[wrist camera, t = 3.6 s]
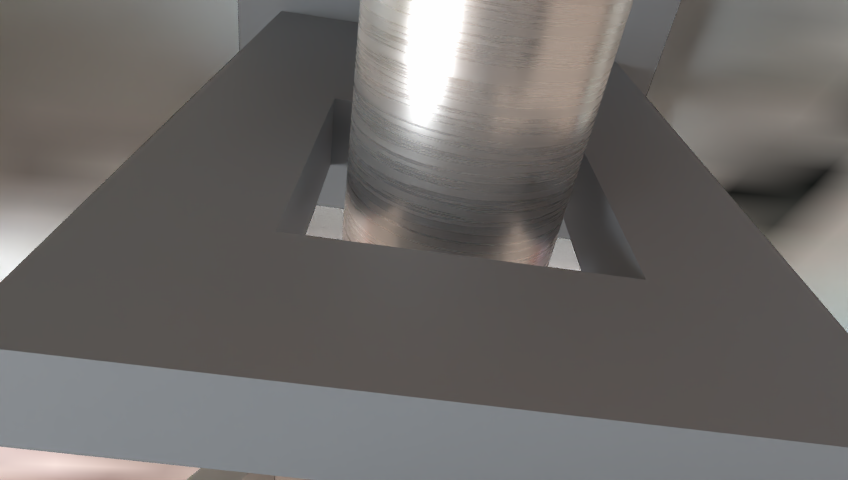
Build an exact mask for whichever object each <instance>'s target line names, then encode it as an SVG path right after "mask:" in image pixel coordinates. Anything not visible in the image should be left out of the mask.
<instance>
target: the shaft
mask: <svg viewBox="0 0 848 480" xmlns="http://www.w3.org/2000/svg"><path fill="white" fill-rule="evenodd" d="M632 3H633V0H360V8H359V22H358V35H357V48H356V61H355V74H354V87H353V101H352V114H351V127H350V140H349V153H348V166H347V180H346V193H345V206H344V219H343V232H342V240H345V241H353V242H360V243H368V244H376V245H383V246H391V247H399V248H406V249H414V250H422V251H429V252H437V253H445V254H452V255H460V256H468V257H475V258H483V259H491V260H498V261H506V262H514V263H521V264H529V265H537V266H544V267H548V264H549V261H550V258H551V255H552V252H553V248H554V245H555V242H556V239H557V236H558V233H559V230H560V227H561V224H562V221H563V217H564V214H565V211H566V208H567V205H568V202H569V199H570V196H571V193H572V190H573V186H574V183H575V180H576V177H577V174H578V171H579V168H580V165H581V162H582V159H583V155H584V152H585V149H586V146H587V143H588V140H589V137H590V134H591V131H592V127H593V124H594V121H595V118H596V115H597V112H598V109H599V106H600V103H601V100H602V96H603V93H604V90H605V87H606V84H607V81H608V78H609V75H610V72H611V69H612V65H613V62H614V59H615V56H616V53H617V50H618V47H619V44H620V41H621V38H622V34H623V31H624V28H625V25H626V22H627V19H628V16H629V13H630V10H631V7H632Z"/></svg>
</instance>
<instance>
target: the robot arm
mask: <svg viewBox="0 0 848 480" xmlns="http://www.w3.org/2000/svg"><path fill="white" fill-rule="evenodd" d="M187 480H311V479H301V478H292V477H282V476H273V475H264V474H254V473H245V472H236V471H226V470H217V469H207V468H200V469H199V470H198V471H196V472H195V473H194V474H193V475H192V476H190V477H189V478H188V479H187Z"/></svg>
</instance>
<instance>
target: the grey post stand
mask: <svg viewBox="0 0 848 480" xmlns="http://www.w3.org/2000/svg"><path fill="white" fill-rule="evenodd" d="M680 2H681V0H633V3H632V7H631V10H630V13H629V16H628V19H627V22H626V25H625V28H624V31H623V34H622V38H621V41H620V44H619V47H618V50H617V53H616V56H615V59H614V62H613V65H612V69H611V72H610V75H609V78H608V81H607V84H606V87H605V90H604V93H603V96H602V100H601V103H600V106H599V109H598V112H597V115H596V118H595V121H594V124H593V127H592V131H591V134H590V137H589V140H588V143H587V146H586V149H585V152H584V155H583V159H582V162H581V165H580V168H579V171H578V174H577V177H576V180H575V183H574V186H573V190H572V193H571V196H570V199H569V202H568V205H567V208H566V211H565V214H564V217H563V221H562V224H561V227H560V230H559V233H558V236H557V237H558V238H566V239H571V242H572V245H573V248H574V251H575V254H576V257H577V259H578V262H579V265H580V268H581V271H575V270H567V269H560V268H552V267H544V266H537V265H529V264H521V263H514V262H506V261H498V260H491V259H483V258H475V257H468V256H460V255H452V254H445V253H437V252H429V251H422V250H414V249H406V248H399V247H391V246H383V245H376V244H368V243H360V242H353V241H345V240H338V239H330V238H322V237H315V236H307V235H306V232H307V229H308V226H309V223H310V221H311V218H312V215H313V212H314V209H315V207H316V205H319V206H326V207H334V208H341V209H344V206H345V193H346V180H347V166H348V153H349V140H350V127H351V114H352V101H353V87H354V74H355V61H356V48H357V35H358V22H359V8H360V0H238V22H239V52H238V53H237V54H236V55H235V56H234V57H233V58H232V59H231V60H230V61H229V62H228V63H227V64H226V65H225V66H224V67H223V68H222V69H221V70H220V71H219V72H218V73H217V74H216V75H215V76H214V77H213V78H211V79H210V80H209V81H208V82H207V83H206V84H205V85H204V86H203V87H202V88H201V89H200V90H199V91H198V92H197V93H196V94H195V95H194V96H193V97H192V98H191V99H190V100H189V101H188V102H187V103H186V104H185V105H184V106H183V107H181V108H180V109H179V110H178V111H177V112H176V113H175V114H174V115H173V116H172V117H171V118H170V119H169V120H168V121H167V122H166V123H165V124H164V125H163V126H162V127H161V128H160V129H159V130H158V131H157V132H156V133H155V134H154V135H153V136H151V137H150V138H149V139H148V140H147V141H146V142H145V143H144V144H143V145H142V146H141V147H140V148H139V149H138V150H137V151H136V152H135V153H134V154H133V155H132V156H131V157H130V158H129V159H128V160H127V161H126V162H125V163H124V164H122V165H121V166H120V167H119V168H118V169H117V170H116V171H115V172H114V173H113V174H112V175H111V176H110V177H109V178H108V179H107V180H106V181H105V182H104V183H103V184H102V185H101V186H100V187H99V188H98V189H97V190H96V191H95V192H94V193H92V194H91V195H90V196H89V197H88V198H87V199H86V200H85V201H84V202H83V203H82V204H81V205H80V206H79V207H78V208H77V209H76V210H75V211H74V212H73V213H72V214H71V215H70V216H69V217H68V218H67V219H66V220H65V221H63V222H62V223H61V224H60V225H59V226H58V227H57V228H56V229H55V230H54V231H53V232H52V233H51V234H50V235H49V236H48V237H47V238H46V239H45V240H44V241H43V242H42V243H41V244H40V245H39V246H38V247H37V248H36V249H35V250H33V251H32V252H31V253H30V254H29V255H28V256H27V257H26V258H25V259H24V260H23V261H22V262H21V263H20V264H19V265H18V266H17V267H16V268H15V269H14V270H13V271H12V272H11V273H10V274H9V275H8V276H7V277H6V278H5V279H3V280H2V281H1V282H0V446H1V447H10V448H20V449H29V450H38V451H48V452H57V453H67V454H76V455H85V456H95V457H104V458H114V459H123V460H132V461H142V462H151V463H160V464H170V465H179V466H189V467H198V468H207V469H217V470H226V471H236V472H245V473H254V474H264V475H273V476H282V477H292V478H301V479H311V480H848V333H847V332H846V331H845V330H844V328H843V327H842V326H841V325H840V324H839V323H838V321H837V320H836V319H835V318H834V317H833V316H832V314H831V313H830V312H829V311H828V310H827V308H826V307H825V306H824V305H823V304H822V303H821V301H820V300H819V299H818V298H817V297H816V296H815V294H814V293H813V292H812V291H811V290H810V289H809V287H808V286H807V285H806V284H805V283H804V282H803V280H802V279H801V278H800V277H799V276H798V275H797V273H796V272H795V271H794V270H793V269H792V267H791V266H790V265H789V264H788V263H787V262H786V260H785V259H784V258H783V257H782V256H781V255H780V253H779V252H778V251H777V250H776V249H775V248H774V246H773V245H772V244H771V243H770V242H769V241H768V239H767V238H766V237H765V236H764V235H763V234H762V232H761V231H760V230H759V229H758V228H757V227H756V225H755V224H754V223H753V222H752V221H751V219H750V218H749V217H748V216H747V215H746V214H745V212H744V211H743V210H742V209H741V208H740V207H739V205H738V204H737V203H736V202H735V201H734V200H733V198H732V197H731V196H730V195H729V194H728V193H727V191H726V190H725V189H724V188H723V187H722V186H721V184H720V183H719V182H718V181H717V180H716V178H715V177H714V176H713V175H712V174H711V173H710V171H709V170H708V169H707V168H706V167H705V166H704V164H703V163H702V162H701V161H700V160H699V159H698V157H697V156H696V155H695V154H694V153H693V152H692V150H691V149H690V148H689V147H688V146H687V145H686V143H685V142H684V141H683V140H682V139H681V137H680V136H679V135H678V134H677V133H676V132H675V130H674V129H673V128H672V127H671V126H670V125H669V123H668V122H667V121H666V120H665V119H664V118H663V116H662V115H661V114H660V113H659V112H658V111H657V109H656V108H655V107H654V106H653V105H652V104H651V102H650V101H649V100H648V99H647V98H646V95H647V92H648V90H649V87H650V84H651V81H652V79H653V76H654V73H655V71H656V68H657V65H658V62H659V60H660V57H661V54H662V51H663V49H664V46H665V43H666V40H667V38H668V35H669V32H670V29H671V27H672V24H673V21H674V19H675V16H676V13H677V10H678V8H679V5H680Z"/></svg>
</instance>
